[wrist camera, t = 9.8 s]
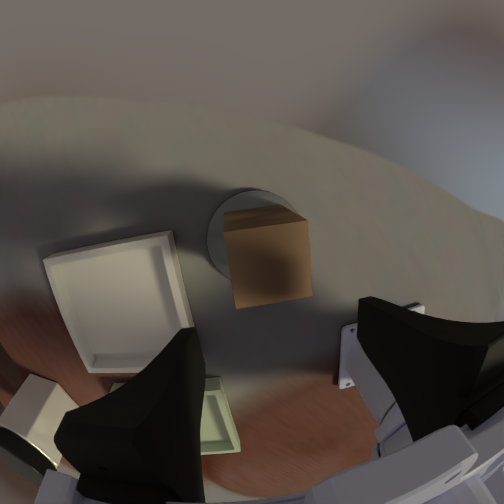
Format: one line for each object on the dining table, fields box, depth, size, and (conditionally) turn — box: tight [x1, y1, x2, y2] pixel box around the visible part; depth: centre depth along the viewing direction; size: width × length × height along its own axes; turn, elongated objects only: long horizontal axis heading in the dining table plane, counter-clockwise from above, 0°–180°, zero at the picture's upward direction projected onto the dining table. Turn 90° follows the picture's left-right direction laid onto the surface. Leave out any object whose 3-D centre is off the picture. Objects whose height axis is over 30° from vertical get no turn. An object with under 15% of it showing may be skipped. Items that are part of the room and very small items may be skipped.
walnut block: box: [223, 204, 312, 309], centre depth 17 cm, size 4×4×6 cm
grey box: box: [43, 230, 203, 373], centre depth 20 cm, size 11×11×2 cm
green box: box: [110, 377, 241, 455], centre depth 24 cm, size 11×11×2 cm
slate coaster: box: [207, 190, 298, 280], centre depth 20 cm, size 7×7×1 cm
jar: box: [0, 374, 79, 486], centre depth 18 cm, size 9×8×12 cm
